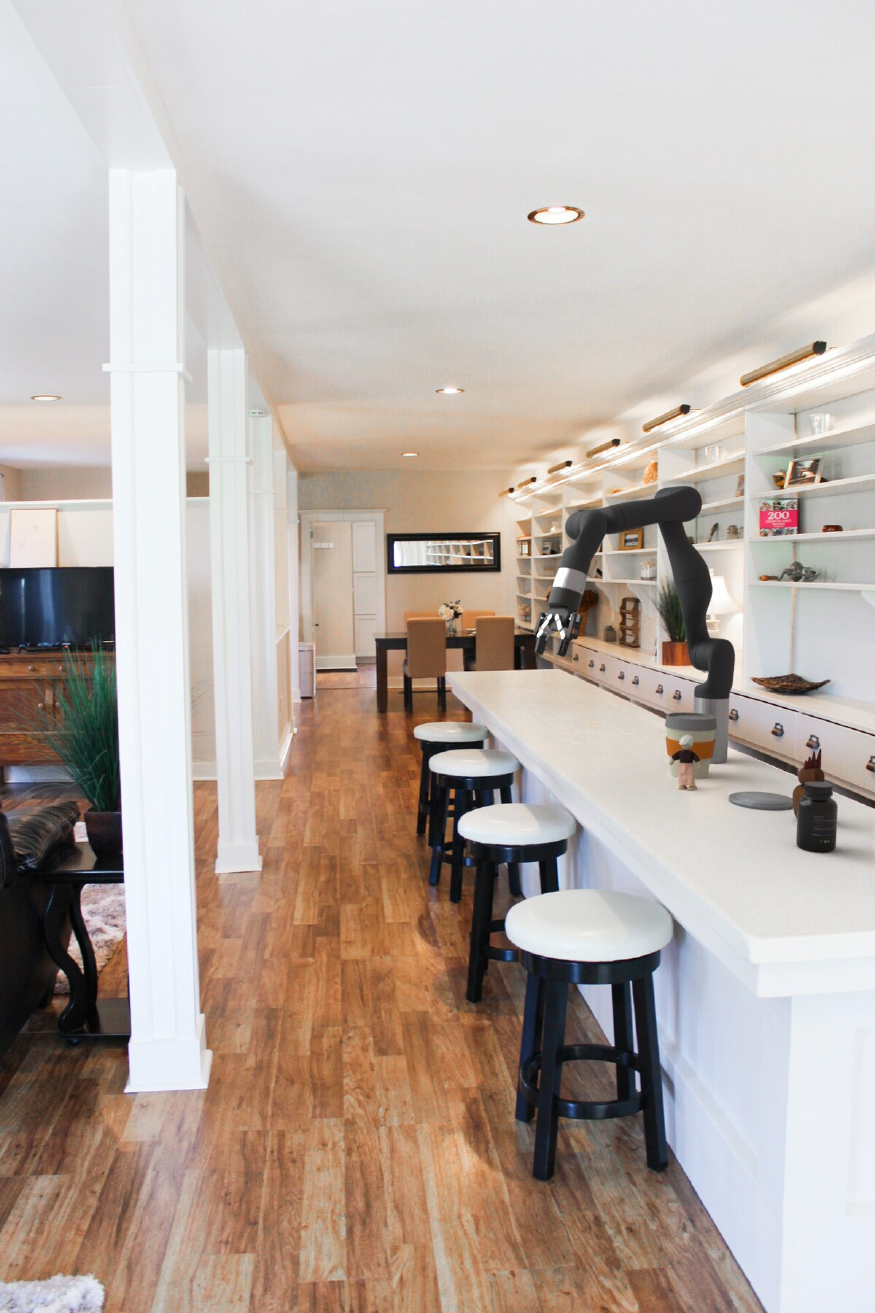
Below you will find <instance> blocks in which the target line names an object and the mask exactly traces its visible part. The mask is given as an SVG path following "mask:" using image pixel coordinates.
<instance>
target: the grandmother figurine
mask: <svg viewBox="0 0 875 1313" xmlns="http://www.w3.org/2000/svg"><path fill="white" fill-rule="evenodd" d="M693 741H694V740H693V737H692V736H690V735H686V736H683V737H682V738H681V740H680V742H679V744H680V745H681V746H682V748H683V749H684V750H680V751H677V752H676V753H674V754H673V755H672V756H671V757H672V758H671V761H670V760H669V761H668V764H669V766H670V765H673V764H674V762H675V760H680V762H679V768H678V777H677V780H678V787H677V789H678V790H686V789H687V790H688V791H697V790H698V786H696V779H695V770H694V763H693V760H694V761H695V762H696V764H697V765H698V768H699V769H702V765H701V761H700V759H699V757H698V756H697V754H696V753H695V752H693V751H690V749H691V748H692V746H693Z"/></svg>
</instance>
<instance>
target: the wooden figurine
mask: <svg viewBox="0 0 875 1313" xmlns="http://www.w3.org/2000/svg"><path fill="white" fill-rule="evenodd" d="M825 776H826V774H825V772H824V771H823V769H822V748H819V749H818V752H817V756H816V752H815V751H814V750H813V751H812V754H811V756H810V755H809V756H808V759H805V760H804V764H803V767H802V768H800V769H799V770H798V774H797V778H798V779H797V780H798V783H800V784H797V785H796V786H795V787H794V788H793V791H792V797H791V798H792V801H793V808H792V809H793V814H794V816H795V818H796V819H797V811H798V801H799V799H800V798H801V797H803V796H805V794H804V785H805V783H806V782H824V783H825V778H826V777H825Z"/></svg>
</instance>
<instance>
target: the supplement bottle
mask: <svg viewBox="0 0 875 1313" xmlns="http://www.w3.org/2000/svg"><path fill="white" fill-rule="evenodd" d="M833 789H834V788H833V784H831V783H828V782H825V781H824V782H806V783H805V785H804V794H805V796H803V797H801V798H800V799H799V801H798V811H797V818H796V835H795V836H796V837H795V841H796V842H795V843H796V846H797V848H799V849H801V850H803V851H806V852H809V853H816V854H827V853H832V852H834V851H835V850H836V848H837V834H838V833H837V831H838V830H837V828H838V811H839V810H838V808H839V807H838V805H839V804H838V803H837V801H836V800H835V799H834V798H832V796H833V795H834V792H833Z"/></svg>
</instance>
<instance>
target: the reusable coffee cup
mask: <svg viewBox="0 0 875 1313" xmlns="http://www.w3.org/2000/svg"><path fill="white" fill-rule="evenodd" d="M665 716H666V718H665V724H664V727H666V736H665V744H666V753H667V754H666V755H668V756H669V757H668V758H669V762H670V761H671V758H672V757H671V756H672V755H673V754H674V753H676V752H677V751H680V750H684V749H683V748H682V746H681V745H680V744H679V742H680V740H681V738H682V737H683V736H686V735H690V736H692V737H693V740H694V741H693V746H692V748H691V749H690V751H693V752H695V753H696V754H697V756H698V757H699V759H700V761H701V765H702V769H699V768H698V765H697V764H696V762H695V761H694V760H693V763H694V770H695V780H702V778H703V779H707V778H708V777H709V769H710V765H711V763H710V759H711V758H712V757H713V752H714V746H715V739H714V735H715V729H717V723H716V716H713V715H709V714H702V713H694V712H671V713H667V714H666V715H665ZM679 762H680V760H675V762H674V764H673V765H670V764H669V768H670V775H671V776H672V777H675V778H678V768H679ZM706 777H707V778H706Z"/></svg>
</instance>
